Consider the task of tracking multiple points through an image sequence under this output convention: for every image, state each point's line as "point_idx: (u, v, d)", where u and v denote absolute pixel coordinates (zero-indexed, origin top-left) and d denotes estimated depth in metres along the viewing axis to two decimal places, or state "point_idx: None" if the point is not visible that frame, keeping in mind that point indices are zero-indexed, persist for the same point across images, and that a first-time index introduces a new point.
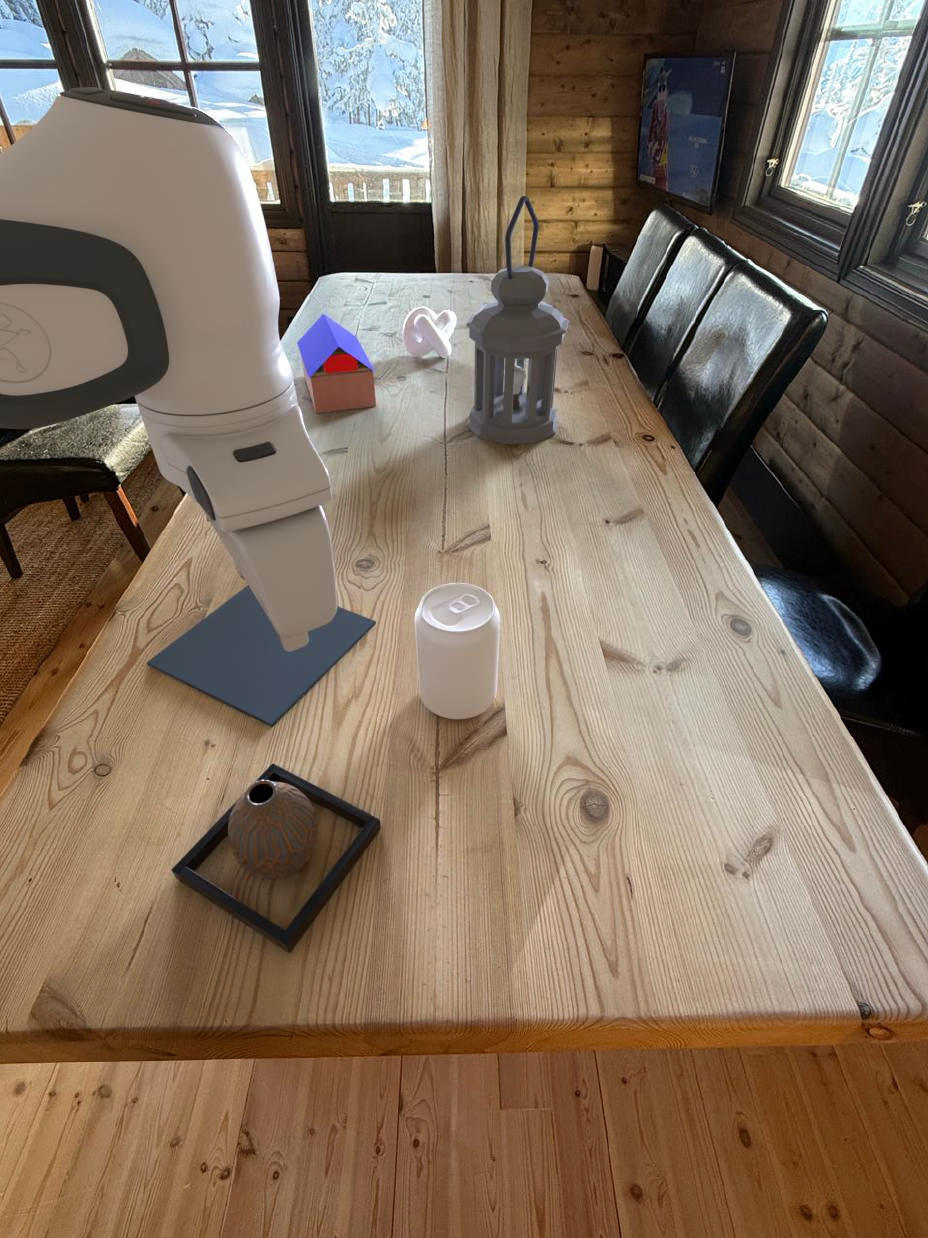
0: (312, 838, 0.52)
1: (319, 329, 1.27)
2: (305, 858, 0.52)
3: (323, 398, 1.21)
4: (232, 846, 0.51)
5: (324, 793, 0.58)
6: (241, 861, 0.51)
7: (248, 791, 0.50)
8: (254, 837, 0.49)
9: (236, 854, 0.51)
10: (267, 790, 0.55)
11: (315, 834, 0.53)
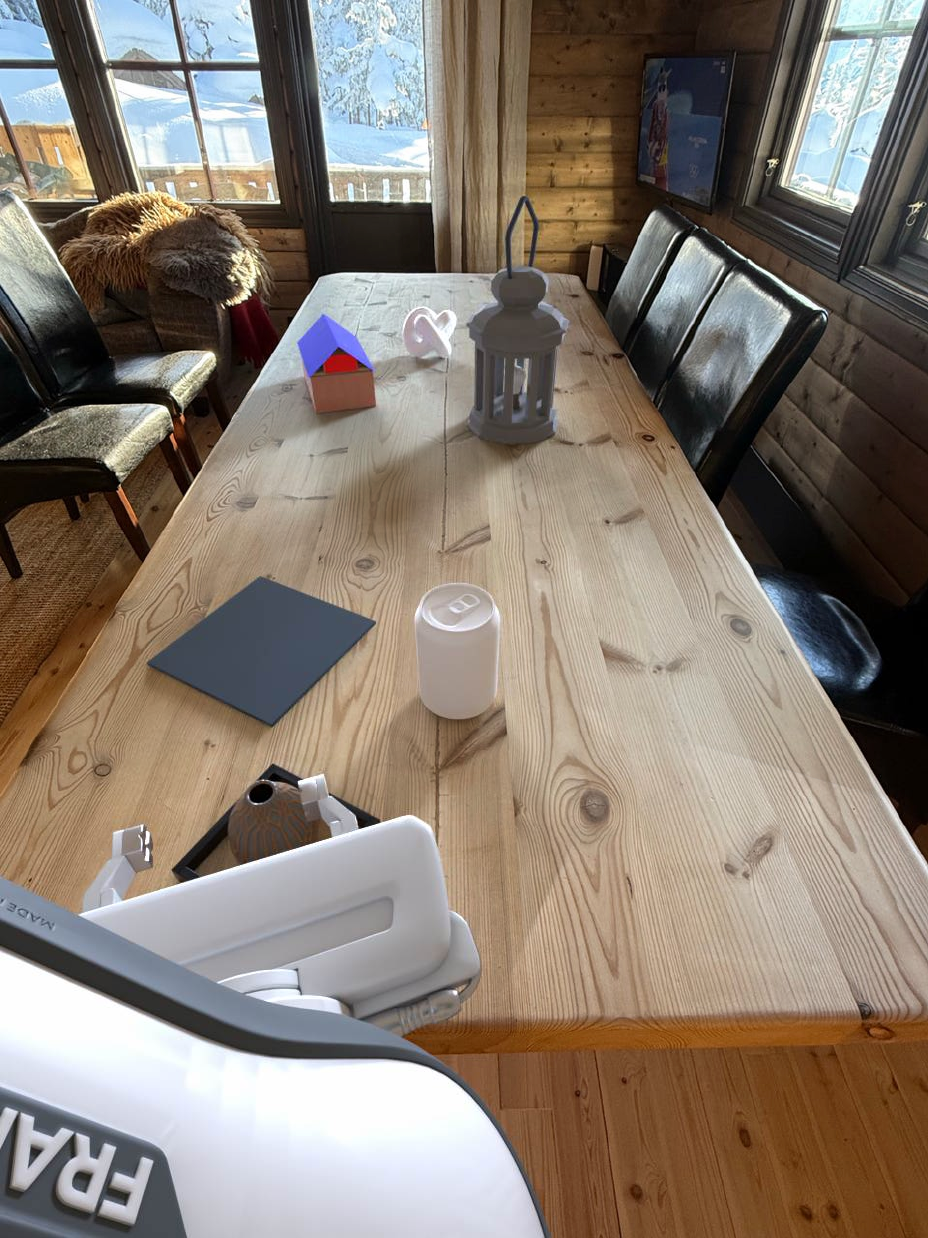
0: (312, 838, 0.52)
1: (319, 329, 1.27)
2: None
3: (323, 398, 1.21)
4: (232, 846, 0.51)
5: None
6: (241, 861, 0.51)
7: (248, 791, 0.50)
8: (254, 837, 0.49)
9: (236, 854, 0.51)
10: (267, 790, 0.55)
11: (315, 834, 0.53)
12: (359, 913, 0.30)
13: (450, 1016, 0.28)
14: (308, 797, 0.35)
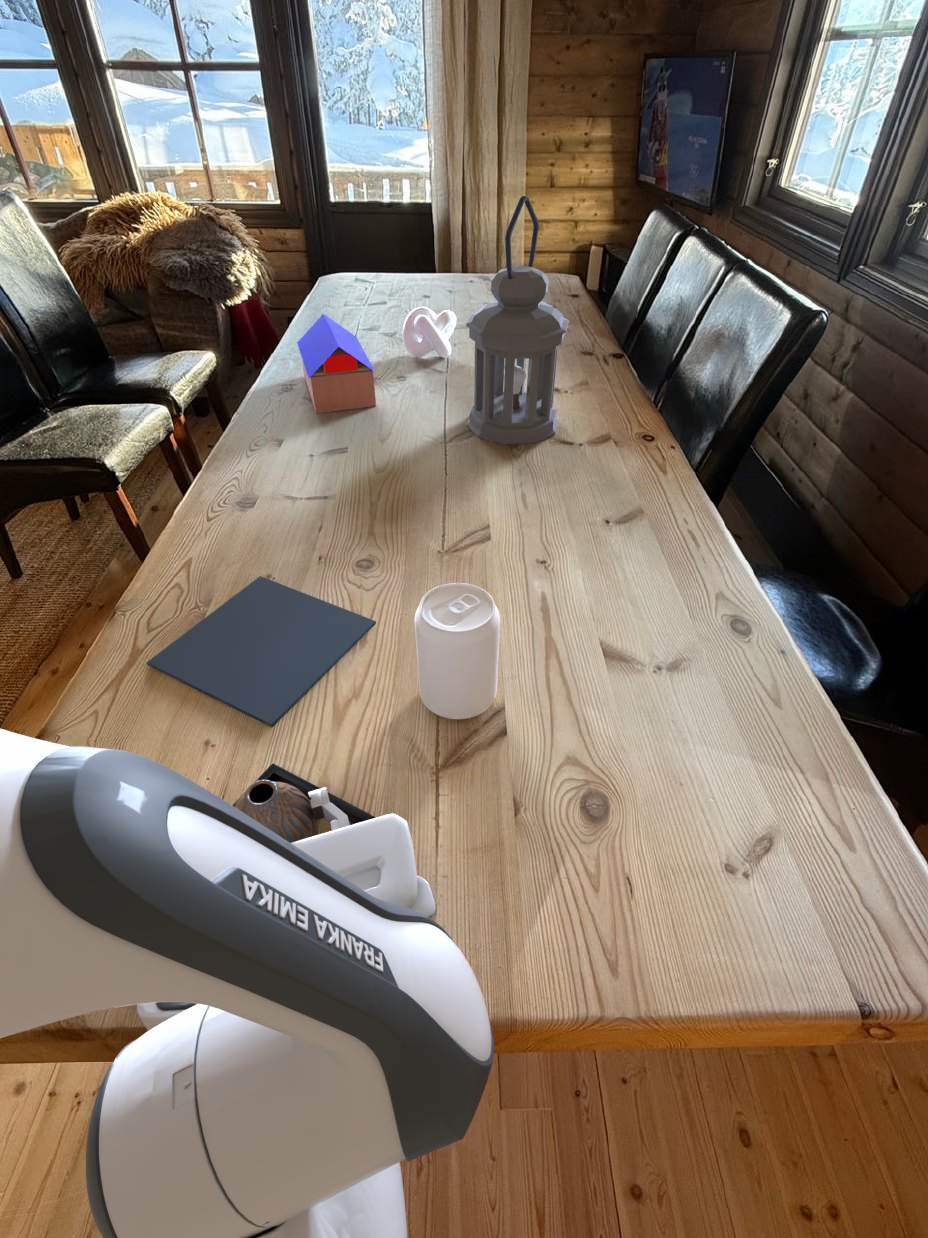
0: None
1: (319, 329, 1.27)
2: None
3: (323, 398, 1.21)
4: None
5: None
6: None
7: (248, 791, 0.50)
8: None
9: None
10: (268, 790, 0.55)
11: (315, 834, 0.53)
12: (358, 876, 0.47)
13: None
14: (315, 803, 0.52)
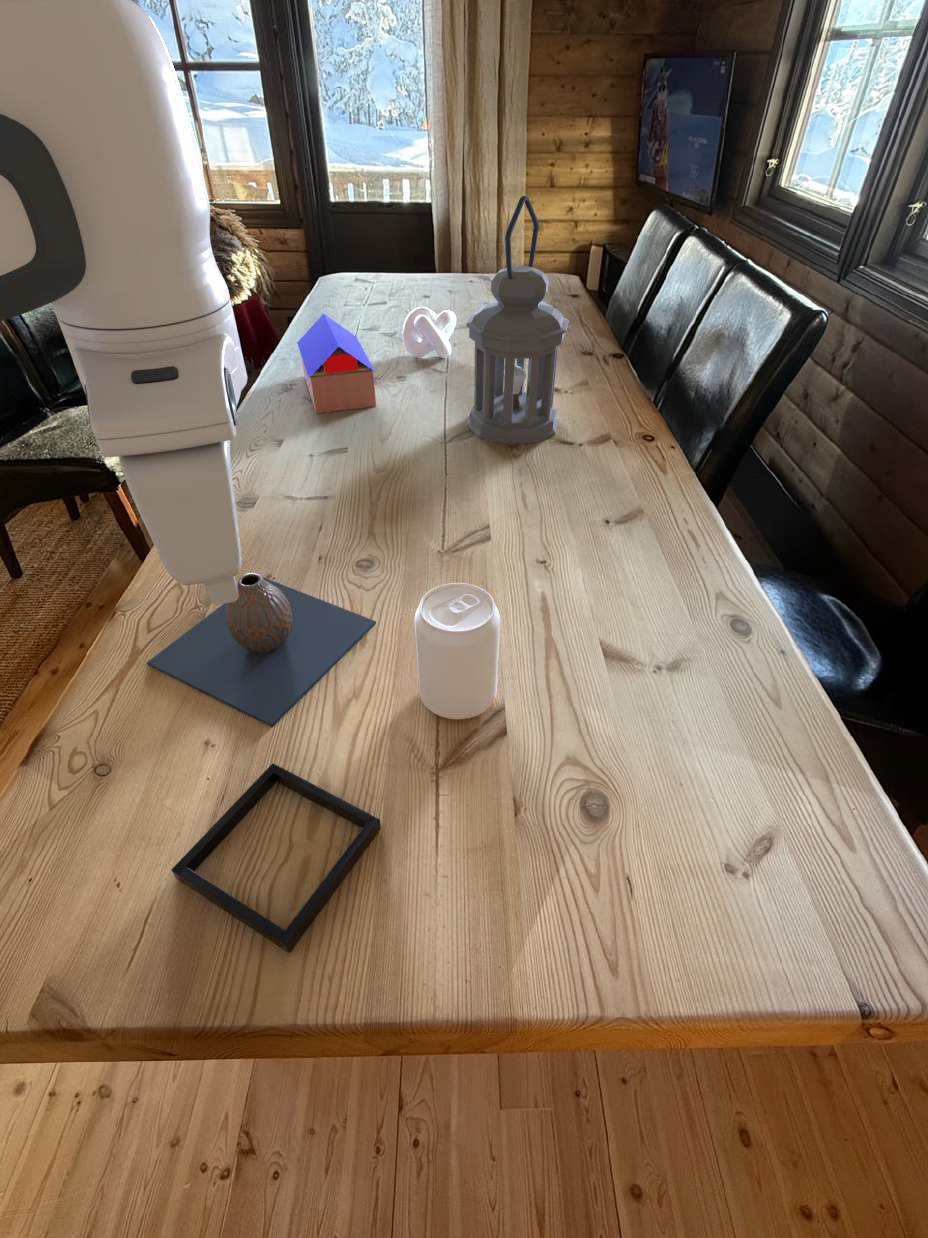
0: (287, 620, 0.72)
1: (319, 329, 1.27)
2: (282, 635, 0.72)
3: (323, 398, 1.21)
4: (229, 621, 0.70)
5: (324, 793, 0.58)
6: (235, 632, 0.70)
7: (240, 579, 0.69)
8: (245, 610, 0.69)
9: (232, 627, 0.70)
10: None
11: (290, 619, 0.72)
12: None
13: None
14: None
